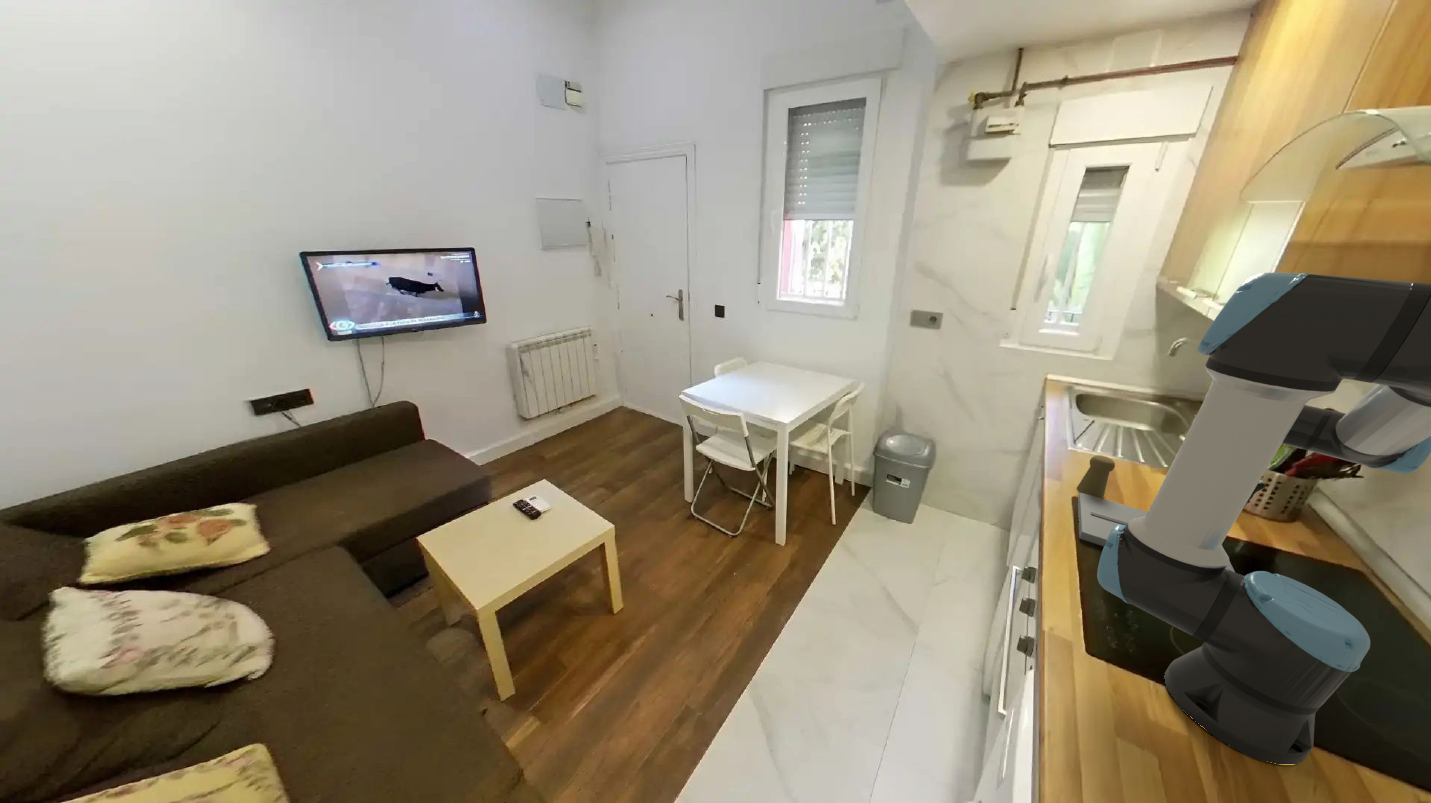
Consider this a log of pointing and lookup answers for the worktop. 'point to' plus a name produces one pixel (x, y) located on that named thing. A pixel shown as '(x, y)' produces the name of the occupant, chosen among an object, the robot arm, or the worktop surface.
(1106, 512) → the console
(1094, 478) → the cork
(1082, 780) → the worktop surface
